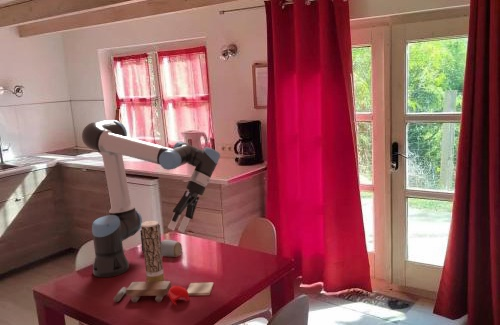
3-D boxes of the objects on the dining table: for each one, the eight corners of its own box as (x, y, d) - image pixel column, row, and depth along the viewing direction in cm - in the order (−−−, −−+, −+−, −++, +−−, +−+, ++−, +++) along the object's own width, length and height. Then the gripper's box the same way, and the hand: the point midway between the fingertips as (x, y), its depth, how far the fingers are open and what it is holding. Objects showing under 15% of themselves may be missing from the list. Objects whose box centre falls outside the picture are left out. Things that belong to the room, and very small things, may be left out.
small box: (154, 251, 226) (152, 230, 225) (141, 251, 228) (139, 230, 226) (162, 244, 237) (160, 224, 235) (150, 244, 238) (148, 224, 236)
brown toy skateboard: (113, 303, 174) (111, 290, 173) (121, 292, 182) (120, 281, 181) (166, 302, 172) (165, 289, 171) (172, 291, 180) (171, 279, 180)
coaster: (185, 295, 176) (185, 293, 176) (190, 285, 185) (190, 282, 185) (209, 295, 175) (209, 292, 175) (213, 284, 184) (213, 282, 184)
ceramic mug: (175, 259, 214) (174, 243, 213) (160, 258, 217) (158, 242, 216) (186, 251, 224) (185, 236, 223) (171, 250, 227) (170, 235, 226)
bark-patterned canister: (156, 287, 185) (150, 226, 181) (143, 284, 189) (137, 224, 184) (167, 281, 191) (162, 221, 186) (155, 278, 194) (149, 220, 190)
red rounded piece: (166, 299, 167) (180, 290, 166) (165, 287, 172) (178, 278, 171) (179, 311, 171) (193, 302, 171) (178, 299, 176) (191, 290, 176)
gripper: (198, 181, 183) (174, 232, 180) (212, 191, 207) (191, 235, 204) (181, 174, 184) (157, 224, 182) (197, 184, 209) (176, 228, 206)
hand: (175, 230), depth 193 cm, fingers open, 13 cm apart
